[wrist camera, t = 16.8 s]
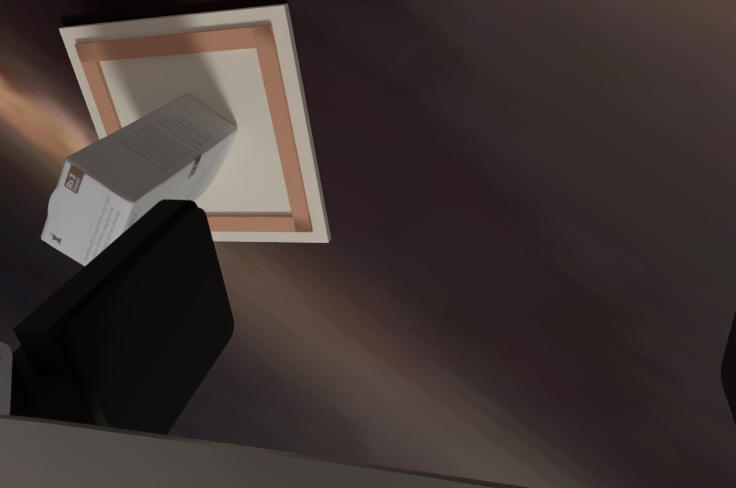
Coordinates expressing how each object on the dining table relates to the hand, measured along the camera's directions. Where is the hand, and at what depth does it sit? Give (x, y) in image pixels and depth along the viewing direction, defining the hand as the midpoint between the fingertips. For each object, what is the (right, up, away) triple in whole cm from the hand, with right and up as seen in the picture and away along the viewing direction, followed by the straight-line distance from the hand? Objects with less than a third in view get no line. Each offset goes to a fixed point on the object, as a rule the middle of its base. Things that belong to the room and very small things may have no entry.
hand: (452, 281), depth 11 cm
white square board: (-13, +8, +31) cm, 35 cm away
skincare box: (-13, +8, +31) cm, 35 cm away
